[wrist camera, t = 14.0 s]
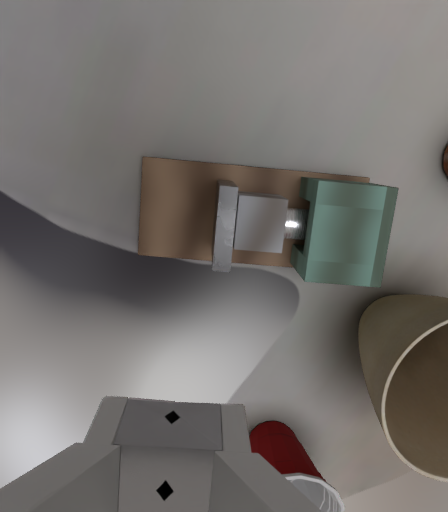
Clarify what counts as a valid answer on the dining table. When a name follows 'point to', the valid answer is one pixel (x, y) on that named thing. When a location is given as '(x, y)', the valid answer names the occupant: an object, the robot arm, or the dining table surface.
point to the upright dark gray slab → (227, 224)
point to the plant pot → (409, 377)
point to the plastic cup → (294, 464)
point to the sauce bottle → (446, 161)
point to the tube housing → (269, 218)
